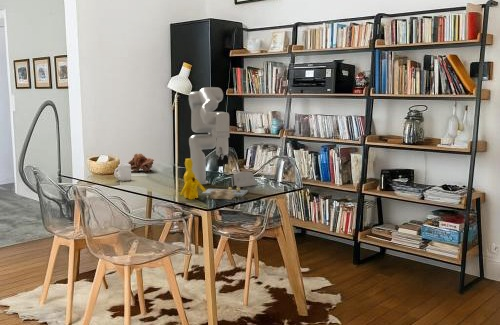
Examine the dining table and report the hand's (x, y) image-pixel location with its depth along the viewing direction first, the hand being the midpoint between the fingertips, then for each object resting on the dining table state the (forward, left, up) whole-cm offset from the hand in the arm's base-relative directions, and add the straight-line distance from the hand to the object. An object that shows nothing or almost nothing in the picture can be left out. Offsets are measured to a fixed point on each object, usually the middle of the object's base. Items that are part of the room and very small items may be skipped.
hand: (223, 165), depth 290 cm
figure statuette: (-17, -6, -18) cm, 25 cm away
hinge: (+2, +40, -18) cm, 44 cm away
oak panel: (0, -2, -18) cm, 18 cm away
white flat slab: (-2, +11, -18) cm, 21 cm away
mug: (-82, +41, -18) cm, 93 cm away
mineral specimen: (-87, +82, -18) cm, 121 cm away
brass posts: (+3, +11, -17) cm, 20 cm away
